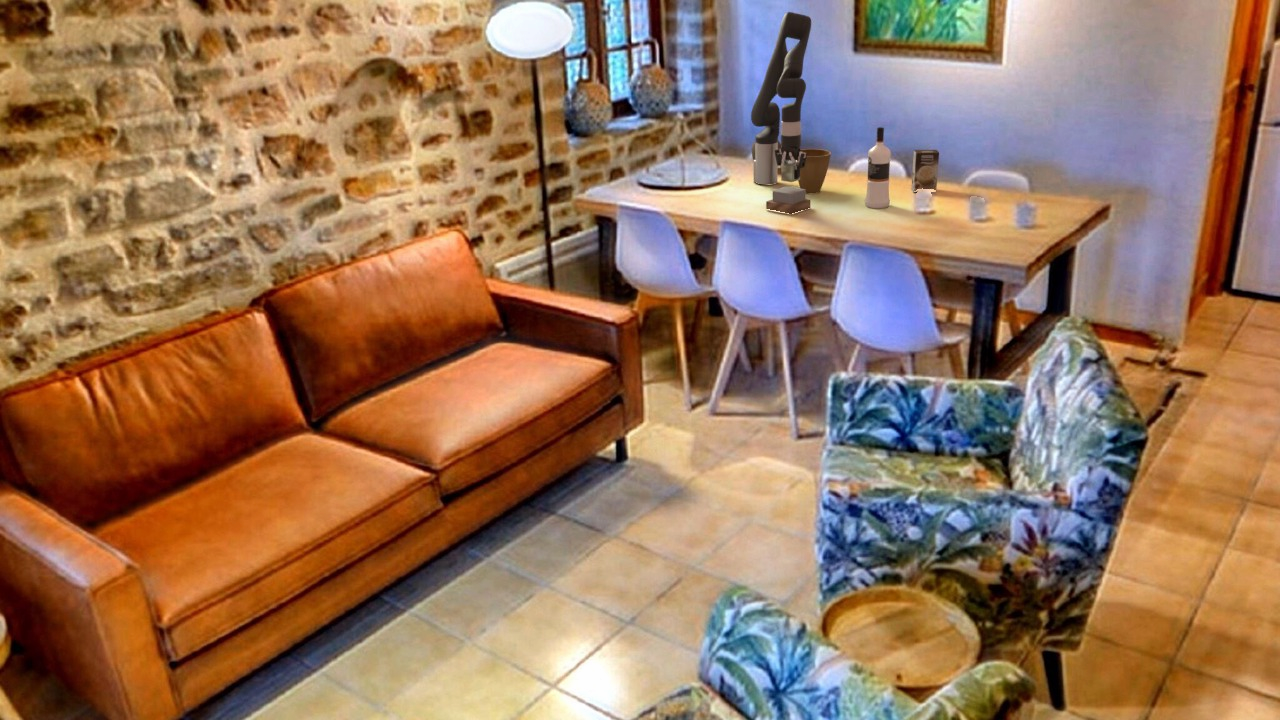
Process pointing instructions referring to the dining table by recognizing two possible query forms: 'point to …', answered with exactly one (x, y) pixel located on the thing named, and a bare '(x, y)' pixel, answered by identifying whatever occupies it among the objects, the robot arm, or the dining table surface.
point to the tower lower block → (788, 206)
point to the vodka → (878, 174)
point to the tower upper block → (789, 195)
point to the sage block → (788, 172)
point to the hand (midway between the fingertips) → (790, 177)
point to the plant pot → (814, 170)
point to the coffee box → (925, 169)
